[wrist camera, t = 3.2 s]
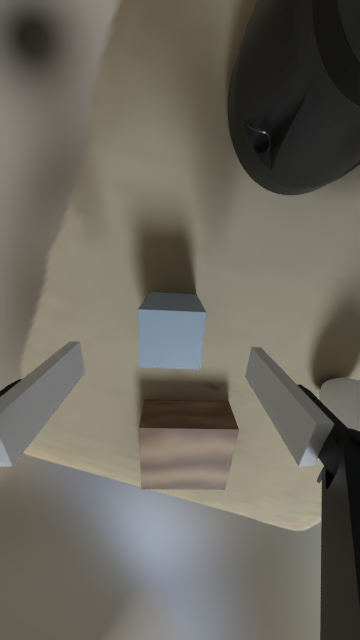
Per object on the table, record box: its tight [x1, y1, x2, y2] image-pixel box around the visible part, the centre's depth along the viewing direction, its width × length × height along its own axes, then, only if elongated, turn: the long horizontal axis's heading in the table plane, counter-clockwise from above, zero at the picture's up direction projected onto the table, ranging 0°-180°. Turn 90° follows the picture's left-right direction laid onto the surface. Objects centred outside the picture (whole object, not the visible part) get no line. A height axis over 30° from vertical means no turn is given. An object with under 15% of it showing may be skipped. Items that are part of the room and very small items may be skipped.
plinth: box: [139, 400, 239, 489], centre depth 29 cm, size 14×14×5 cm
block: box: [138, 292, 206, 369], centre depth 20 cm, size 6×6×8 cm
